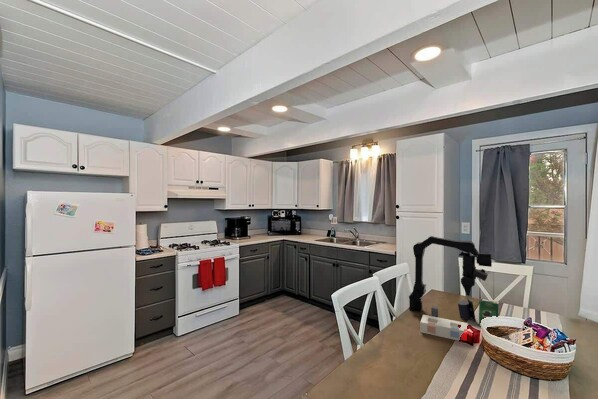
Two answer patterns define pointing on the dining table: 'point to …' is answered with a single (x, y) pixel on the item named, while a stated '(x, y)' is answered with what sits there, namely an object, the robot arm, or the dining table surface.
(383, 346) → the dining table surface
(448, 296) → the dining table surface
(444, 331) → the port block
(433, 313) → the plug
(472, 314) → the speaker
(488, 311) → the coffee box
